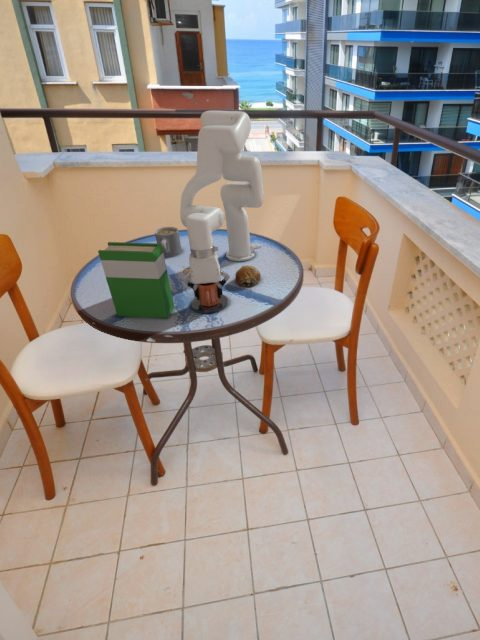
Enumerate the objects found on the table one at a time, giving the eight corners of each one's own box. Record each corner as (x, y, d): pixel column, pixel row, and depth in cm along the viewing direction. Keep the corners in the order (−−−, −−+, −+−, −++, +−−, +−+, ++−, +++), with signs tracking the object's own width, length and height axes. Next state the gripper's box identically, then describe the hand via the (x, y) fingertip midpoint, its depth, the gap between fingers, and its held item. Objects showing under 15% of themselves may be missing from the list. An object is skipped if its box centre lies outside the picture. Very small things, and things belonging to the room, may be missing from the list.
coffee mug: (165, 246, 191) (161, 226, 186) (185, 248, 190) (181, 227, 184) (151, 258, 181) (146, 237, 175) (172, 260, 179) (168, 239, 173)
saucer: (220, 291, 157) (220, 289, 157) (233, 307, 148) (233, 305, 147) (187, 300, 152) (186, 298, 151) (198, 317, 142) (198, 315, 142)
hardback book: (117, 315, 143) (97, 251, 129) (126, 304, 149) (108, 242, 135) (167, 318, 142) (153, 253, 128) (174, 306, 148) (161, 243, 134)
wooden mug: (200, 297, 151) (197, 278, 147) (219, 295, 152) (216, 276, 148) (199, 311, 143) (196, 291, 139) (219, 309, 144) (216, 289, 140)
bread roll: (263, 287, 167) (265, 267, 166) (253, 288, 157) (255, 267, 156) (241, 283, 170) (243, 264, 168) (229, 284, 160) (232, 263, 159)
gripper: (228, 245, 142) (233, 290, 152) (176, 248, 140) (184, 294, 150) (229, 254, 136) (234, 300, 146) (174, 257, 134) (183, 305, 144)
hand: (209, 297), depth 148 cm, fingers closed on wooden mug, 6 cm apart
